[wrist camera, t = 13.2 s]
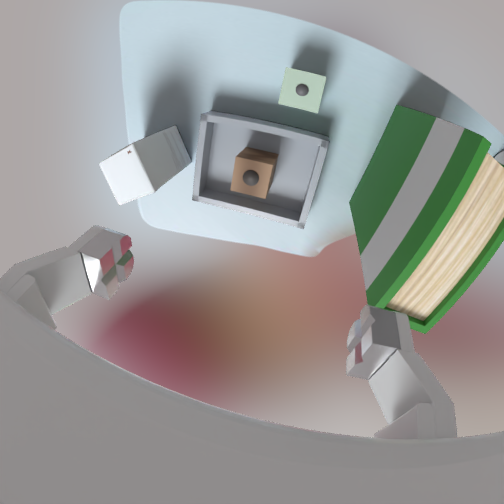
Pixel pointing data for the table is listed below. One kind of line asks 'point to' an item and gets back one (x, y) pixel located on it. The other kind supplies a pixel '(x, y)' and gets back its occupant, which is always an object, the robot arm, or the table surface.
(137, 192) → the supplement box
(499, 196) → the hardback book
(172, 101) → the table surface
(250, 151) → the walnut block
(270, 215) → the tray
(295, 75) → the sage block
